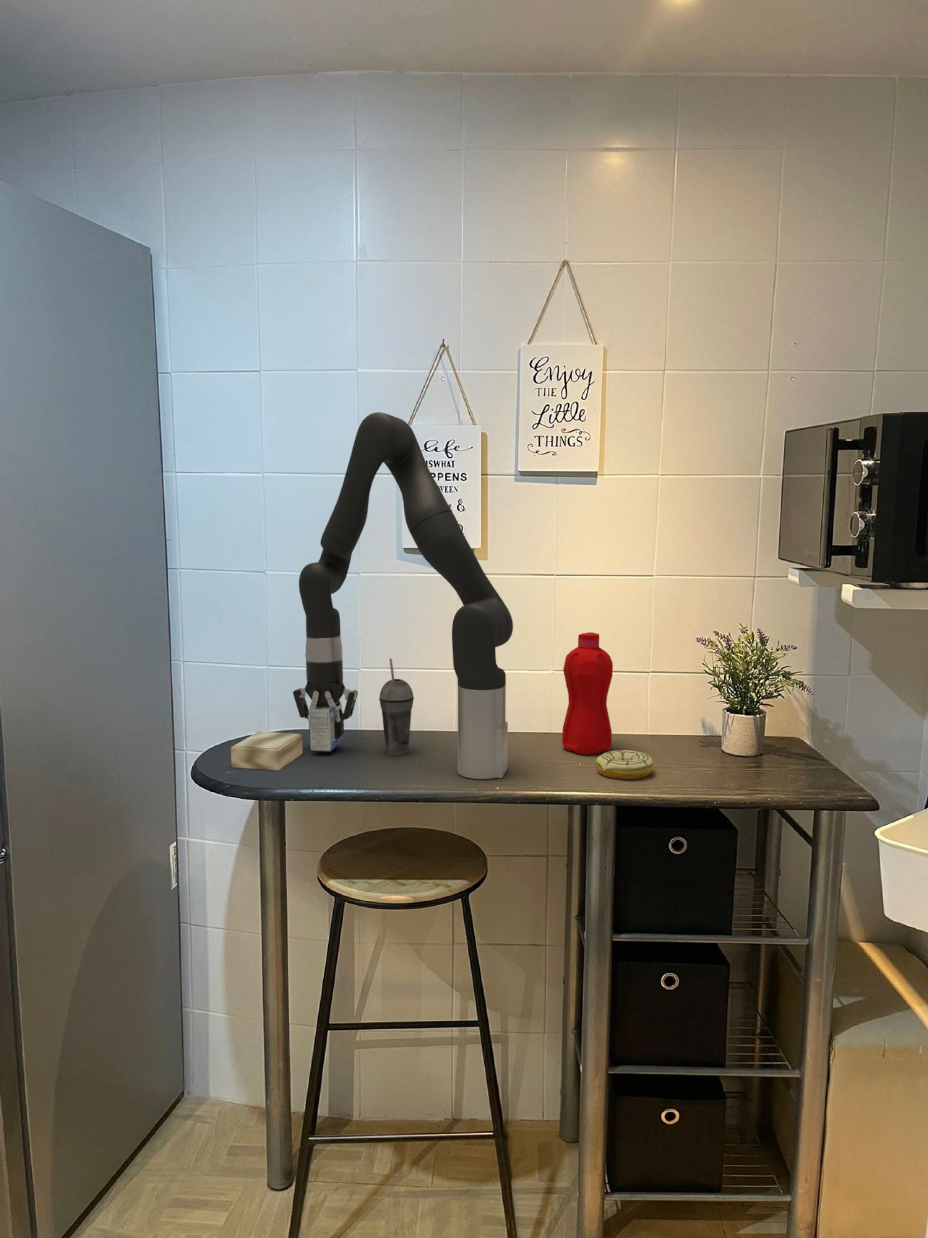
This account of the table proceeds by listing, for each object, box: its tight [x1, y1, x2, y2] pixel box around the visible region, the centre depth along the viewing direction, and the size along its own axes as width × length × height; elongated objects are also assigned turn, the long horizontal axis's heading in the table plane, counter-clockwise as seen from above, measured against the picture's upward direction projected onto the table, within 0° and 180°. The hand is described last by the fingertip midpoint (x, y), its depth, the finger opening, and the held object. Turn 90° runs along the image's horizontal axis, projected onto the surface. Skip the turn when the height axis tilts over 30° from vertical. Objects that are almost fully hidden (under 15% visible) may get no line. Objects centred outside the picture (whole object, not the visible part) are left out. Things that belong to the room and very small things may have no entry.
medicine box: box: [309, 703, 344, 752], centre depth 183 cm, size 8×4×9 cm, turn 169°
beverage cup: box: [378, 658, 415, 756], centre depth 182 cm, size 7×7×20 cm
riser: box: [230, 731, 304, 771], centre depth 177 cm, size 10×12×4 cm
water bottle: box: [561, 631, 614, 756], centre depth 184 cm, size 9×11×25 cm
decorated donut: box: [596, 749, 654, 780], centre depth 169 cm, size 10×11×4 cm
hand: (326, 737), depth 183 cm, fingers closed on medicine box, 4 cm apart
